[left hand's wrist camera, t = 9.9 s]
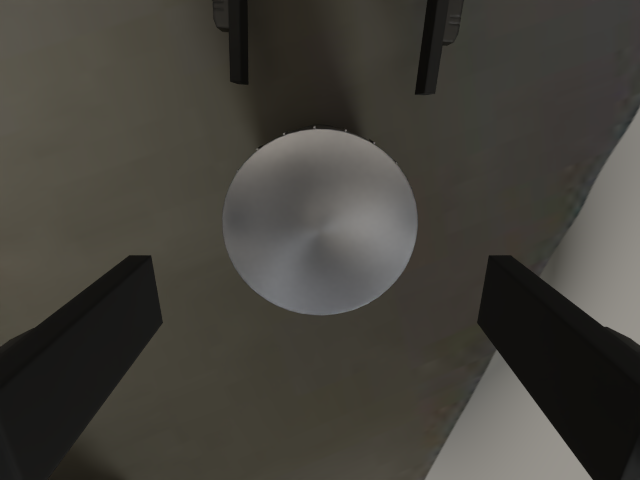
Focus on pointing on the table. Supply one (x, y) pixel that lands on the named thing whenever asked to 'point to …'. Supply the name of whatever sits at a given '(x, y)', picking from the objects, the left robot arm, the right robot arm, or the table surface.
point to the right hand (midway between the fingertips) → (332, 89)
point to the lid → (319, 221)
